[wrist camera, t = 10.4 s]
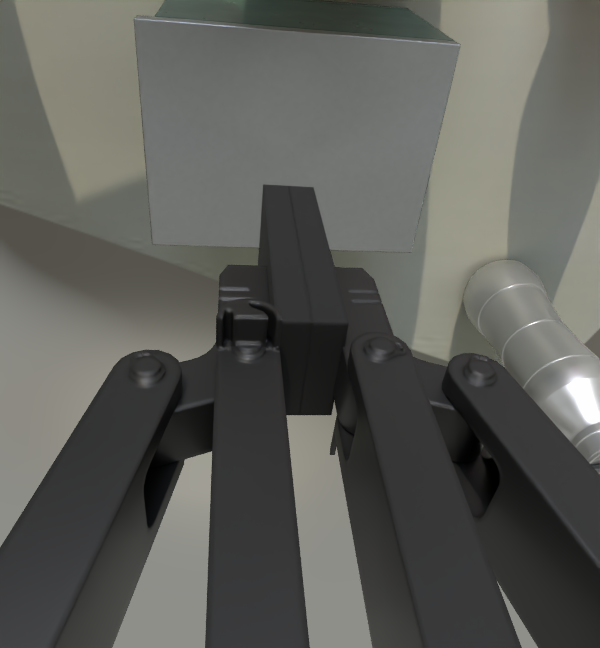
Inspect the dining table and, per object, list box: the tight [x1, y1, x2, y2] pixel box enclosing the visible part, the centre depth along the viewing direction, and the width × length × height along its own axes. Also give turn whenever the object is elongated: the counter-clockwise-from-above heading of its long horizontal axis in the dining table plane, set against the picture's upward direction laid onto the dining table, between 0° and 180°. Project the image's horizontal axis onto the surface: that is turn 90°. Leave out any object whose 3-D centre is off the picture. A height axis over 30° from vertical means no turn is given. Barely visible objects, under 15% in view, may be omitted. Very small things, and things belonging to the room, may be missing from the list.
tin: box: [155, 0, 454, 41], centre depth 34 cm, size 15×12×10 cm
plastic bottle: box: [463, 260, 600, 474], centre depth 41 cm, size 6×7×20 cm
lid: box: [134, 15, 460, 253], centre depth 30 cm, size 15×12×1 cm
